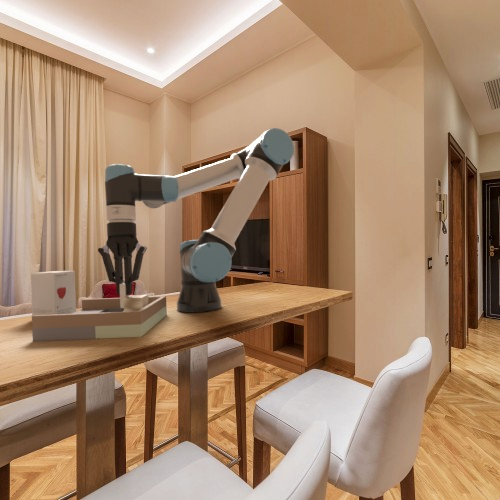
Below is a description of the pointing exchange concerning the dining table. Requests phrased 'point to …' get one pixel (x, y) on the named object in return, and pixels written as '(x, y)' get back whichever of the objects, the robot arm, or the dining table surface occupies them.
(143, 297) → the cream block
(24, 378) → the dining table surface
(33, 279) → the supplement box
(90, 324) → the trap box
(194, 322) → the dining table surface
